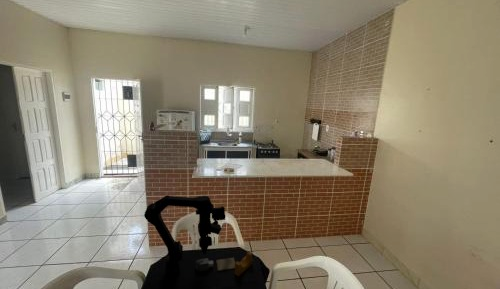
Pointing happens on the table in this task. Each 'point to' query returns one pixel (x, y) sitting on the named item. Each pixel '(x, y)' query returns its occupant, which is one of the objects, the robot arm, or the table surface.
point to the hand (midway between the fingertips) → (204, 248)
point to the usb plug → (203, 264)
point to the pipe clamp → (243, 264)
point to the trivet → (225, 264)
